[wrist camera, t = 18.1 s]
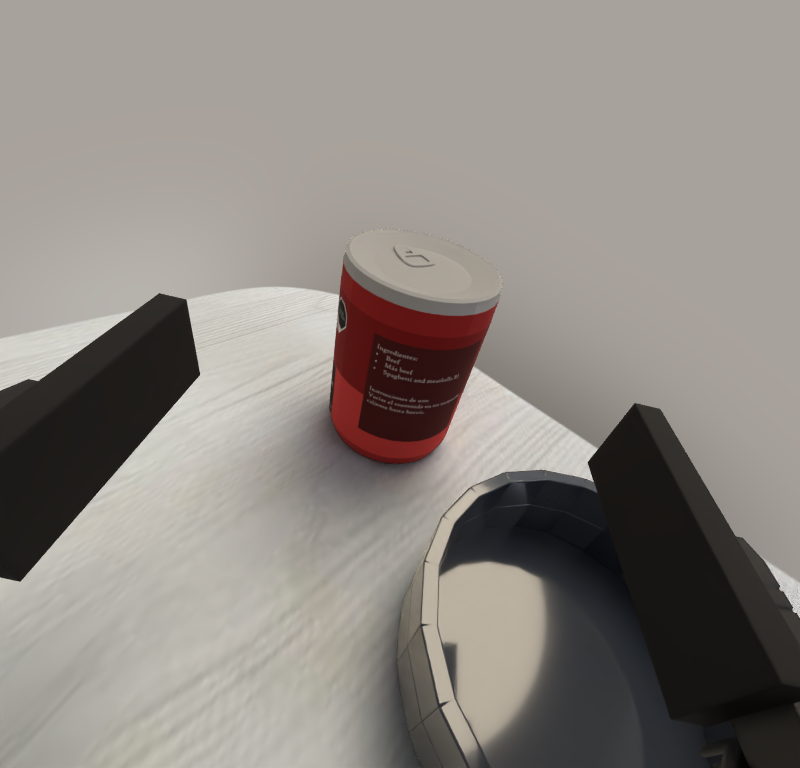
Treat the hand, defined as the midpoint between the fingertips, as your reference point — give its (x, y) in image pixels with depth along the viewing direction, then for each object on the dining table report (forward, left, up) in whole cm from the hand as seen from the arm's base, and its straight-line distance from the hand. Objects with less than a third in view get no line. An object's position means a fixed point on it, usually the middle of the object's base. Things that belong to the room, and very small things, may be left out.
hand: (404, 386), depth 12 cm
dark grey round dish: (-9, 0, -11) cm, 14 cm away
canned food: (+3, -9, -11) cm, 14 cm away
